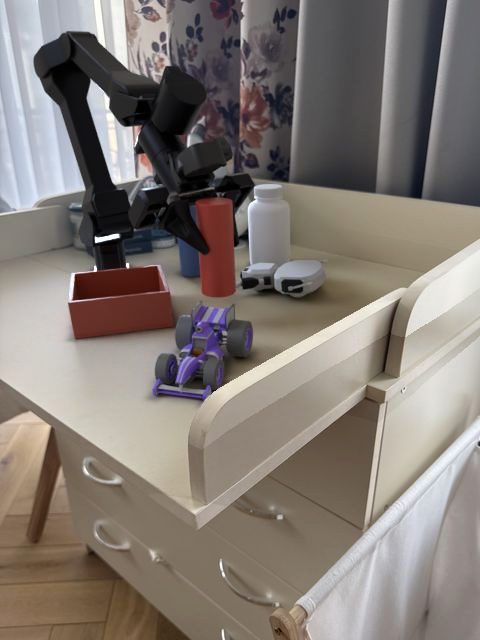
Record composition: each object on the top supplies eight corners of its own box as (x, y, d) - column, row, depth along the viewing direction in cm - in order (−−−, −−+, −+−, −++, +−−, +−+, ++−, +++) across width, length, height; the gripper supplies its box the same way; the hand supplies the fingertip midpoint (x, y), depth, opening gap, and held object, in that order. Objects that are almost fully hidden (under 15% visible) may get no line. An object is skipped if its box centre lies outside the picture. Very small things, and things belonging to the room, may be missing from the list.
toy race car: (141, 395, 64) (134, 345, 61) (189, 340, 77) (185, 297, 74) (218, 405, 62) (214, 354, 59) (254, 347, 75) (252, 303, 72)
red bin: (77, 305, 89) (71, 273, 87) (163, 295, 93) (160, 264, 90) (74, 339, 78) (67, 302, 76) (173, 326, 81) (170, 291, 79)
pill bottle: (252, 257, 111) (250, 182, 104) (292, 258, 110) (292, 182, 103) (246, 270, 104) (243, 190, 97) (288, 271, 103) (288, 190, 96)
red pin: (199, 287, 81) (192, 198, 75) (231, 283, 82) (227, 196, 76) (204, 299, 77) (198, 206, 71) (239, 295, 78) (236, 203, 72)
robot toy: (229, 302, 91) (316, 306, 87) (226, 277, 90) (315, 279, 85) (253, 279, 102) (331, 280, 97) (250, 255, 100) (331, 256, 95)
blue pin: (179, 269, 105) (173, 201, 99) (204, 267, 106) (200, 199, 100) (182, 278, 101) (176, 207, 95) (209, 275, 102) (205, 205, 96)
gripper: (127, 121, 66) (187, 228, 64) (245, 112, 77) (299, 203, 75) (106, 180, 75) (158, 276, 72) (214, 165, 86) (262, 247, 83)
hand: (222, 249), depth 75 cm, fingers closed on red pin, 5 cm apart
